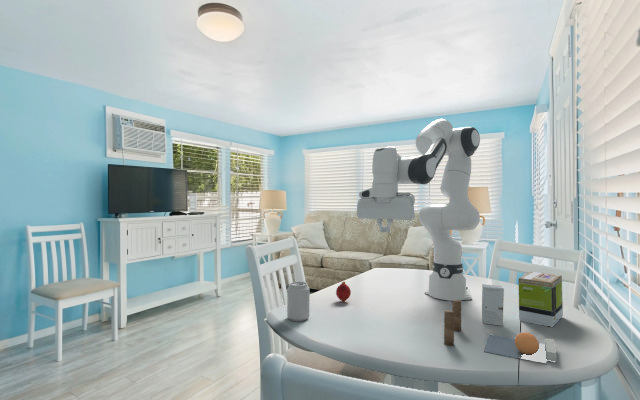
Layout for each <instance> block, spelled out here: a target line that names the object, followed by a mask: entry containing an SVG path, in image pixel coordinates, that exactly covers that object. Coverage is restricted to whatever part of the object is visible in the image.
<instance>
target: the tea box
mask: <svg viewBox="0 0 640 400" xmlns="http://www.w3.org/2000/svg"><path fill="white" fill-rule="evenodd" d="M563 303H564V302H563V275H560V274H552V273H544V272H536V271H534V272H533V271H530V272H528V273H527V274H526V273H525V274H524V275H522V276H520V277H519V278H518V320H519V322H520V321H521V322H524V321H525V323H529V322H530V324H533V323H535V324H534V325H538V324H539V326H542V325H544V326H543V327H547V326H550V327H549V328H553V327H554V326H555V325H557V323H558V322H559V321H560V320H561V319H562V318H563V317H564V311H563V310H564V307H563V305H564V304H563ZM562 316H563V317H562ZM561 317H562V318H561ZM560 318H561V319H560ZM559 319H560V320H559Z"/></svg>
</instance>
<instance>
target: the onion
mask: <svg viewBox="0 0 640 400" xmlns="http://www.w3.org/2000/svg"><path fill="white" fill-rule="evenodd" d="M351 291H352V290H351V289H350V286H349V285H348V284H346V281H345V280H344V281H342V282H341V283H340V284H339V285H338V286H337V288H336V291H335V294H336V297H337V298H338V300H339V301H341V302H343V303H344V302H346V301H347V300H348V299H349V298H351V297H350V296H351Z"/></svg>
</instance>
